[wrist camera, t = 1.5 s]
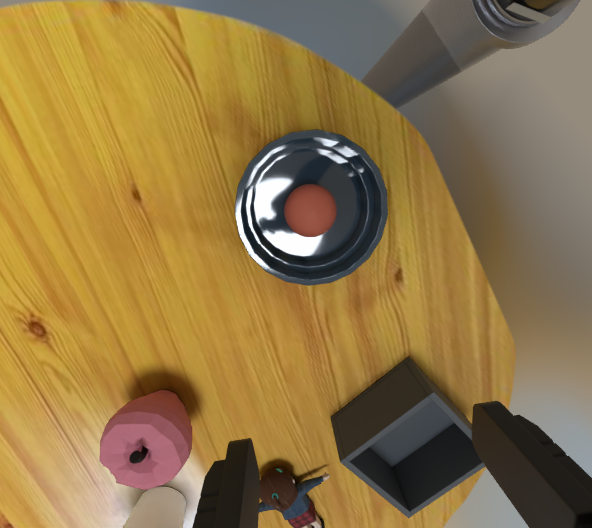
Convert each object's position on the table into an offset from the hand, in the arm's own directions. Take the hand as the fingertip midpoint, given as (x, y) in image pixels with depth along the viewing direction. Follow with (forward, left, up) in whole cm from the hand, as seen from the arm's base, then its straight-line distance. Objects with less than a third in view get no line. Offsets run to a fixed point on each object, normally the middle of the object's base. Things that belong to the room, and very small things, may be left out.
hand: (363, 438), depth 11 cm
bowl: (-4, -4, -24) cm, 25 cm away
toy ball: (-4, -4, -21) cm, 22 cm away
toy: (+26, +26, -24) cm, 44 cm away
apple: (+26, +2, -24) cm, 36 cm away
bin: (+6, +26, -24) cm, 36 cm away
